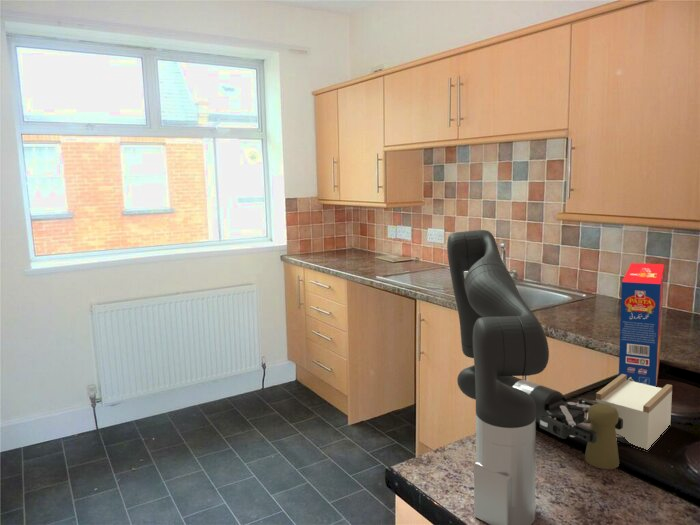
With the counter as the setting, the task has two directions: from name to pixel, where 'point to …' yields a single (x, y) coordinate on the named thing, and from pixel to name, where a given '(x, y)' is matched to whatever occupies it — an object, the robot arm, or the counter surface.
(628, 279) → the pasta box
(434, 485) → the counter surface
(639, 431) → the display stand
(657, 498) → the counter surface
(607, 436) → the olive green pawn
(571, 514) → the counter surface
